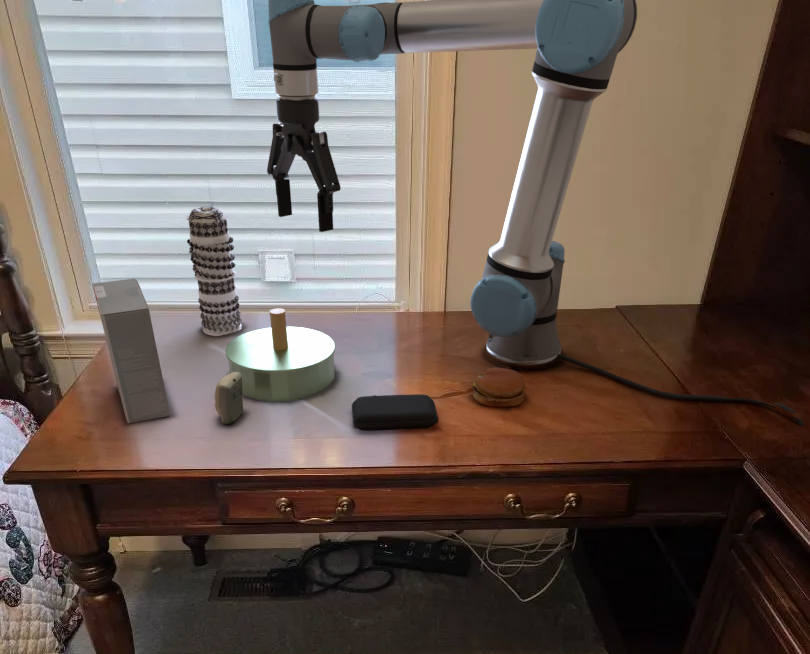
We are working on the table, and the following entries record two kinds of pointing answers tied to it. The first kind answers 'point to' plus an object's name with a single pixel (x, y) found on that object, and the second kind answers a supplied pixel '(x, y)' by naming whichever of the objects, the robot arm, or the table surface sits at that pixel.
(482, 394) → the burger
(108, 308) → the hard drive box
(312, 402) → the table surface
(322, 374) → the pot
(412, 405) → the carrying case
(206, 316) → the white patterned cylinder
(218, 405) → the beige rounded block
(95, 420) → the table surface
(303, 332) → the pot lid
